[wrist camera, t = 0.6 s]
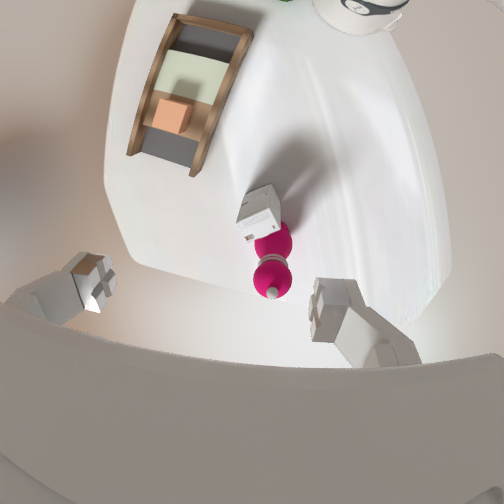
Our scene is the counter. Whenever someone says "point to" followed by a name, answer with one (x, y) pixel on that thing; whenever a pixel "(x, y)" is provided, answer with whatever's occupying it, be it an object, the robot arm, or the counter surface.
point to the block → (172, 115)
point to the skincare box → (259, 213)
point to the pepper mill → (273, 264)
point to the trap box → (189, 86)
